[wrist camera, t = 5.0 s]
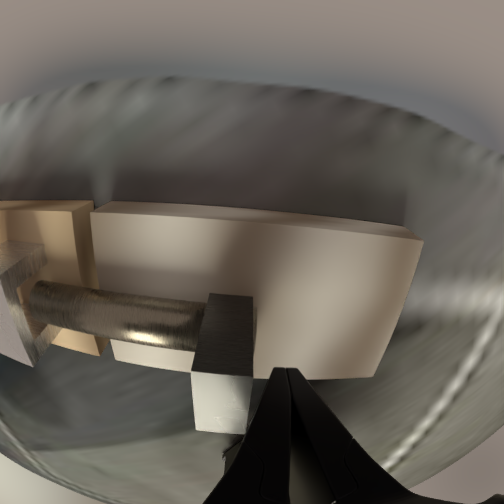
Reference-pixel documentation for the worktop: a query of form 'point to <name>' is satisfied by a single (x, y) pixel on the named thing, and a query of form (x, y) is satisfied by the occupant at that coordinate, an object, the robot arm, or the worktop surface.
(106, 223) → the door jamb
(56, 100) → the worktop surface
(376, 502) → the robot arm
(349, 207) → the worktop surface
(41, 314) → the bolt
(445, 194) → the worktop surface
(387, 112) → the worktop surface
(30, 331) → the keeper
